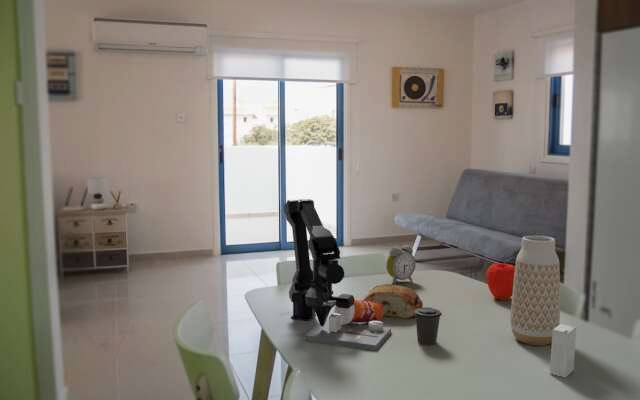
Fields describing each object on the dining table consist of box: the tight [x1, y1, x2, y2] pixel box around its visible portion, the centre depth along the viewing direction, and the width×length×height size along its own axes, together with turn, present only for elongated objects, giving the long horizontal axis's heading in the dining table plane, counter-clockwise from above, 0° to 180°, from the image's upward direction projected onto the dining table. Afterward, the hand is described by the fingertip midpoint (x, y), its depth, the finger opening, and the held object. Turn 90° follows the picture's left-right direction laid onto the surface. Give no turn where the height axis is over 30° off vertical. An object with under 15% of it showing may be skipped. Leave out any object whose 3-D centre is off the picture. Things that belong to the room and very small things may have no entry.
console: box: [304, 319, 392, 351], centre depth 185 cm, size 22×16×4 cm
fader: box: [328, 312, 341, 332], centre depth 185 cm, size 2×4×5 cm, turn 158°
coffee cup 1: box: [334, 298, 384, 324], centre depth 195 cm, size 8×8×15 cm
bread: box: [362, 283, 424, 319], centre depth 210 cm, size 20×18×10 cm
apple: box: [486, 262, 515, 301], centre depth 224 cm, size 12×12×13 cm
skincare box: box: [549, 323, 577, 379], centre depth 158 cm, size 6×4×12 cm
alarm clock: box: [386, 244, 416, 285], centre depth 248 cm, size 12×7×15 cm, turn 123°
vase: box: [510, 235, 561, 346], centre depth 181 cm, size 14×14×31 cm
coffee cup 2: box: [414, 307, 442, 347], centre depth 180 cm, size 8×8×10 cm
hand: (322, 325), depth 187 cm, fingers closed
